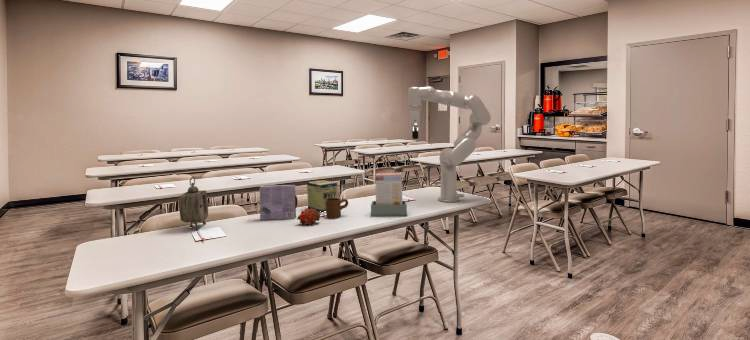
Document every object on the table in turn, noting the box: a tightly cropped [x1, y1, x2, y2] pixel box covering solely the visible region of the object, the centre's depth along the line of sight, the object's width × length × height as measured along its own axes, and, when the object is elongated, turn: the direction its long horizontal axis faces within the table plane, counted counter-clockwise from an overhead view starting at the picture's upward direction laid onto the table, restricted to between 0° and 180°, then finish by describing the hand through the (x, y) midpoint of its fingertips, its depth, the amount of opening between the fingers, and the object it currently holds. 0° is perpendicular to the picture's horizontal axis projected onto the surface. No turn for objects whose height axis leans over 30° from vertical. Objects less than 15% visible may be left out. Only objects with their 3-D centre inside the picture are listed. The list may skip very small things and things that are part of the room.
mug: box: [325, 197, 349, 219], centre depth 228 cm, size 12×8×9 cm, turn 110°
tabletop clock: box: [178, 176, 209, 230], centre depth 210 cm, size 14×9×25 cm, turn 5°
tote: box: [370, 200, 408, 217], centre depth 231 cm, size 19×11×6 cm, turn 86°
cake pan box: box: [259, 184, 298, 221], centre depth 225 cm, size 19×5×18 cm, turn 100°
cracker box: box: [374, 172, 403, 205], centre depth 230 cm, size 14×6×21 cm, turn 85°
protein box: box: [306, 179, 338, 213], centre depth 245 cm, size 10×16×16 cm
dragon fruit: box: [296, 208, 321, 226], centre depth 214 cm, size 8×8×12 cm
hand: (415, 138), depth 253 cm, fingers open, 9 cm apart
